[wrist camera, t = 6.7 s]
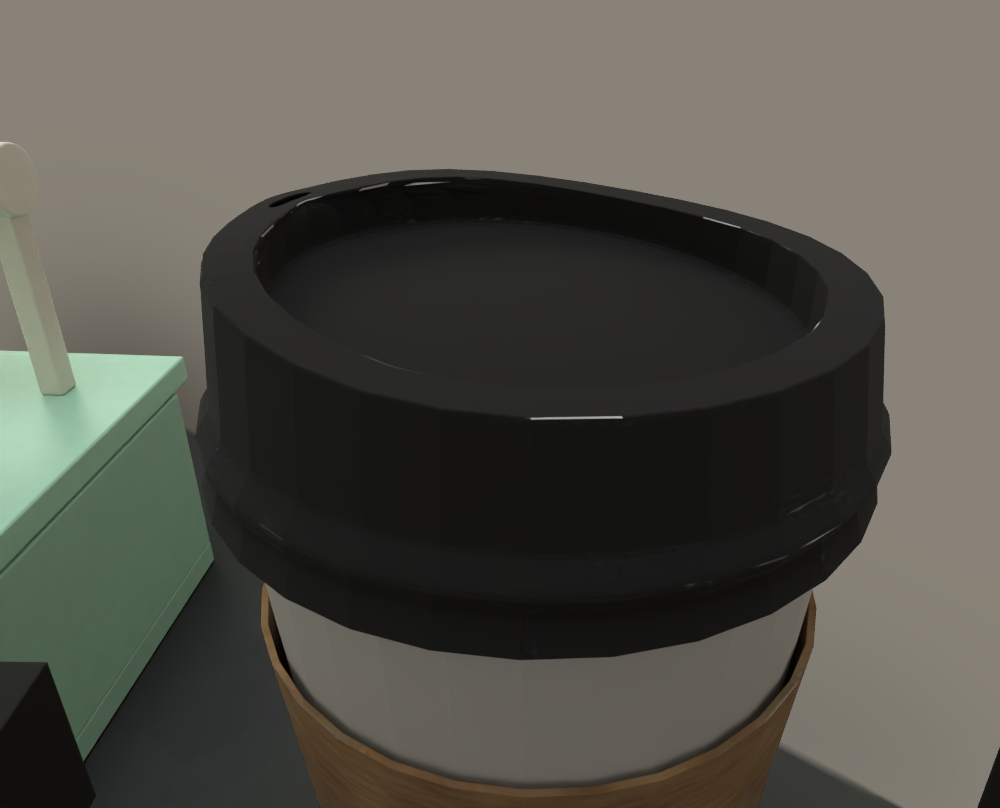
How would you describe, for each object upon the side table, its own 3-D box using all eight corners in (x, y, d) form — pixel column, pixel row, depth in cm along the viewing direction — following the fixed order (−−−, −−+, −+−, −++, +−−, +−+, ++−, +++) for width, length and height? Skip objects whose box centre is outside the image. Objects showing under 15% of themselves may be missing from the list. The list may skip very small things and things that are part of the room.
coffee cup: (451, 735, 22) (414, 137, 15) (789, 870, 19) (946, 182, 12) (225, 1076, 16) (-34, 296, 8) (683, 1380, 12) (897, 506, 5)
